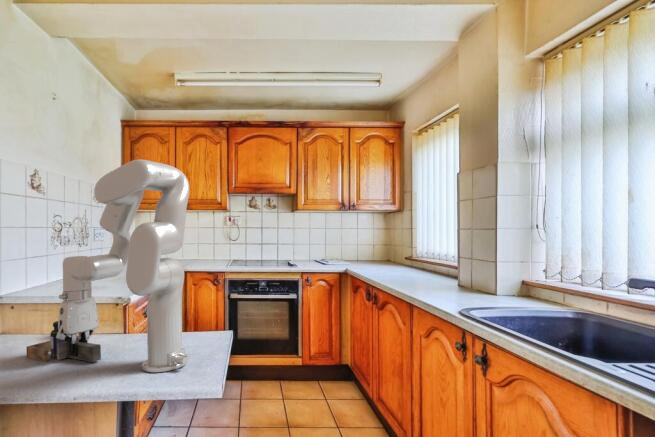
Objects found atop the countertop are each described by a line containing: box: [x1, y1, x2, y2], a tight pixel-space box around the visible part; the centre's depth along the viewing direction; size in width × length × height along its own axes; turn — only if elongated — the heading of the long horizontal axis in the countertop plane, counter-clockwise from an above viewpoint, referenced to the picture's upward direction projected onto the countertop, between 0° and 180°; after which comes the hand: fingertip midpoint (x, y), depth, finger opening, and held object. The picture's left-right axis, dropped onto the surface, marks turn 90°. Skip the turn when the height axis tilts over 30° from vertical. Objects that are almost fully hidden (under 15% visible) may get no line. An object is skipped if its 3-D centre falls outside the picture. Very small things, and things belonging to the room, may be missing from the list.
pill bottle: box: [50, 320, 67, 359], centre depth 123 cm, size 6×6×11 cm
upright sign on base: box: [56, 336, 102, 363], centre depth 119 cm, size 14×7×5 cm, turn 64°
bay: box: [26, 339, 51, 363], centre depth 125 cm, size 10×12×4 cm
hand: (78, 353), depth 120 cm, fingers closed on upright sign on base
